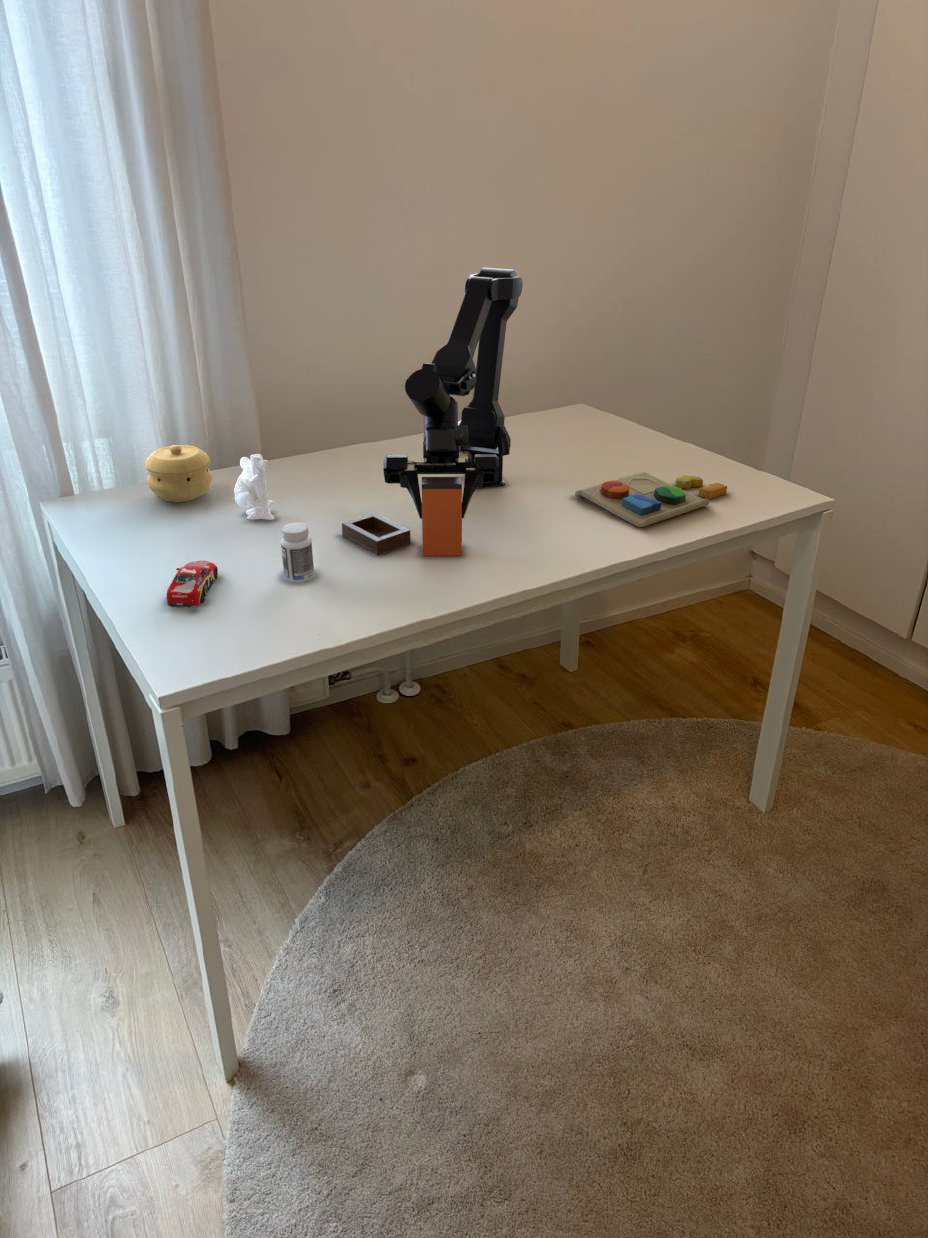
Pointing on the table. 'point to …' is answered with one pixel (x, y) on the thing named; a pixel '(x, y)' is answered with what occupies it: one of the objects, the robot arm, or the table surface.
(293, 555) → the pill bottle
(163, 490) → the pot
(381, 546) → the slot
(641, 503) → the shape puzzle
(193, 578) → the race car
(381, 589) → the table surface
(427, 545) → the box
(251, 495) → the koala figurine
